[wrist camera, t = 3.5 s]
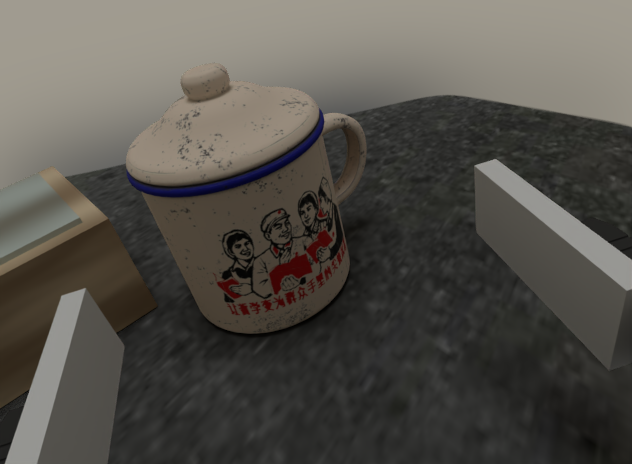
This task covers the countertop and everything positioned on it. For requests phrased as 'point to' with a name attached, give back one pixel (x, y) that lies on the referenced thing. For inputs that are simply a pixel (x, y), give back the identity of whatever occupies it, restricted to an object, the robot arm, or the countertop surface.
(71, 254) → the oak riser
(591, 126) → the countertop surface
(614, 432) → the countertop surface
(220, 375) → the countertop surface
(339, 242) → the teacup with lid
